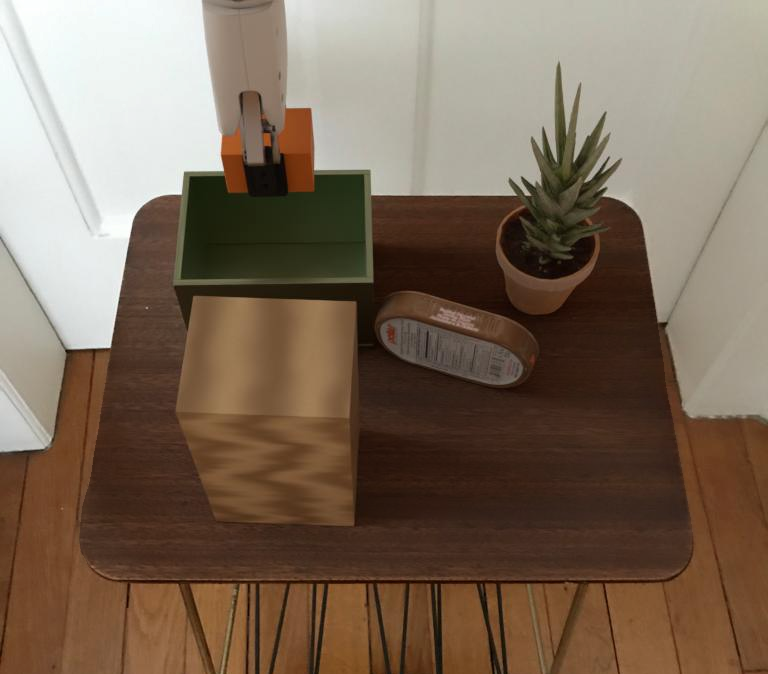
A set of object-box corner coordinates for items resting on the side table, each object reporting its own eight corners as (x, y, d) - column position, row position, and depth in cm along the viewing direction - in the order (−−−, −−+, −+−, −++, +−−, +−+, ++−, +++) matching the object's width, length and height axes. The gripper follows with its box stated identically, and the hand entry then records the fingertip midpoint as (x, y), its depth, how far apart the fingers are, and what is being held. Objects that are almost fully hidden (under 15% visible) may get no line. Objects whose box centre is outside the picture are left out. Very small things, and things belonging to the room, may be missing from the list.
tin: (531, 377, 85) (547, 321, 77) (523, 403, 83) (538, 350, 76) (381, 333, 87) (382, 275, 79) (370, 358, 85) (370, 302, 78)
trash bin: (373, 348, 86) (373, 282, 77) (193, 351, 86) (173, 285, 77) (370, 241, 92) (370, 169, 83) (201, 244, 91) (183, 171, 83)
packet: (228, 193, 73) (220, 154, 70) (231, 148, 75) (223, 108, 72) (314, 191, 73) (310, 153, 70) (314, 147, 75) (311, 107, 72)
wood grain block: (216, 521, 78) (175, 411, 62) (228, 422, 82) (193, 295, 66) (354, 526, 78) (349, 417, 62) (359, 427, 82) (356, 301, 66)
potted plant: (487, 252, 91) (524, 30, 69) (580, 255, 91) (648, 35, 69) (488, 332, 87) (528, 124, 65) (586, 336, 87) (660, 128, 65)
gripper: (188, -130, 61) (229, 95, 78) (170, 40, 54) (218, 249, 70) (298, -131, 61) (315, 94, 78) (294, 38, 54) (314, 247, 71)
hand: (269, 166), depth 74 cm, fingers closed on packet, 5 cm apart
